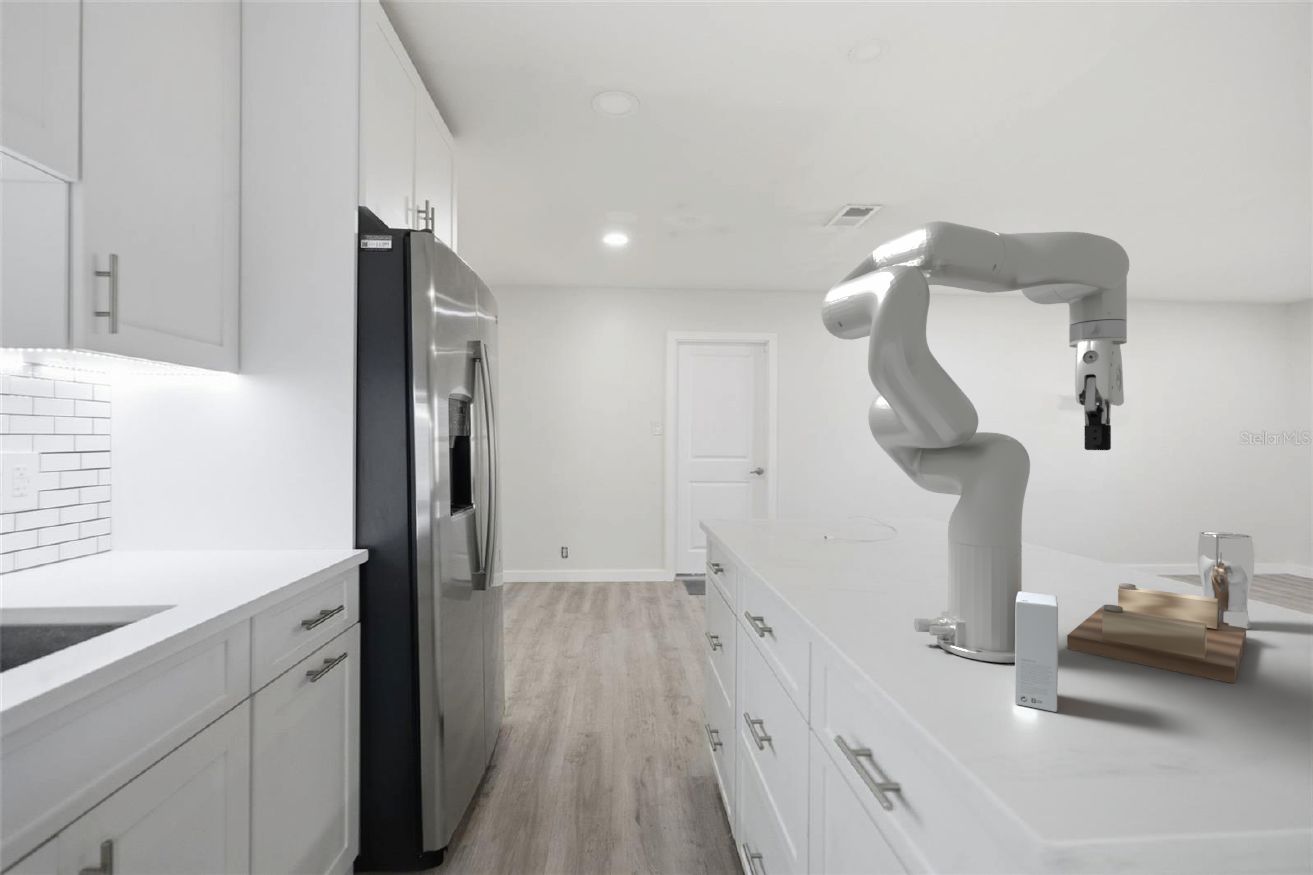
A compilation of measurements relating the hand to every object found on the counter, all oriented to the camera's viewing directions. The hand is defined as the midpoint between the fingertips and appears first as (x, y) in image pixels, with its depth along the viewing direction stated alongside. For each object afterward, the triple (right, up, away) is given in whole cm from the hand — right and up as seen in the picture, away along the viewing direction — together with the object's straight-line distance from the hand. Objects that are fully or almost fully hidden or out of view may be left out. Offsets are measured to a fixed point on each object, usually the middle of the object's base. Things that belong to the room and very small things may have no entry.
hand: (1097, 449), depth 99 cm
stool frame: (+5, -29, -6) cm, 30 cm away
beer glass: (+24, -29, +4) cm, 38 cm away
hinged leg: (+10, -27, -1) cm, 29 cm away
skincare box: (-26, -29, -26) cm, 47 cm away
